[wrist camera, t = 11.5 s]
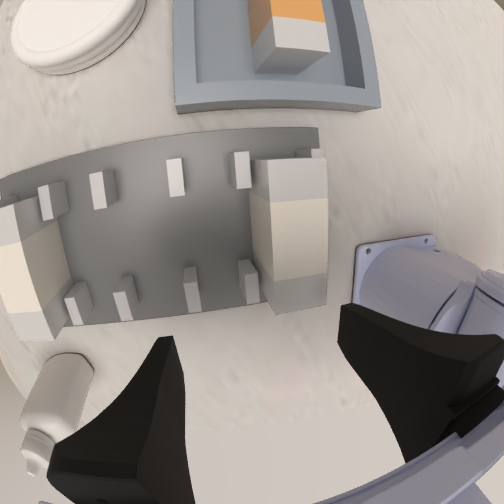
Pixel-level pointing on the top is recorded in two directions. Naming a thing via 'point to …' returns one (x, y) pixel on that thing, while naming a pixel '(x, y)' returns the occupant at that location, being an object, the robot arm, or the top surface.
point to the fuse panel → (158, 221)
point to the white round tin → (71, 32)
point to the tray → (269, 85)
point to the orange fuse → (286, 35)
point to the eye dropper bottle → (54, 407)
